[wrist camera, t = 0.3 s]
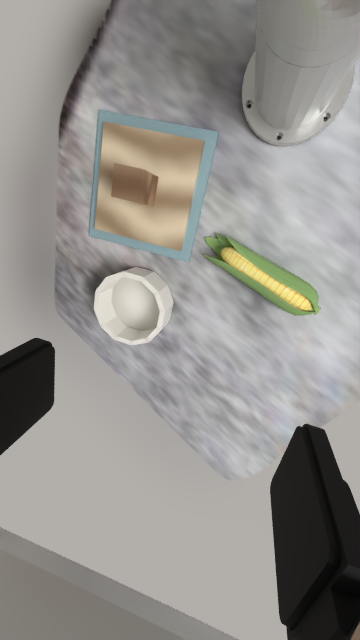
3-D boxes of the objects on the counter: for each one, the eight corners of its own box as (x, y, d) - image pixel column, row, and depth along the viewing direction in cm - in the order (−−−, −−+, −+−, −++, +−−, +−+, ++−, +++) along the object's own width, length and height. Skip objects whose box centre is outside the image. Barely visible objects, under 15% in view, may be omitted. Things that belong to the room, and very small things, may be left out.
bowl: (114, 259, 46) (98, 264, 41) (179, 277, 44) (170, 284, 39) (107, 321, 51) (91, 332, 46) (165, 340, 49) (156, 353, 44)
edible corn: (302, 319, 42) (308, 329, 38) (196, 251, 43) (190, 254, 38) (325, 292, 40) (334, 300, 36) (213, 222, 41) (209, 221, 36)
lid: (107, 123, 39) (79, 103, 33) (205, 142, 37) (195, 125, 30) (97, 228, 45) (72, 229, 38) (181, 250, 42) (169, 255, 36)
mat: (100, 110, 39) (99, 109, 39) (218, 132, 36) (218, 131, 36) (90, 235, 46) (89, 235, 46) (189, 261, 43) (188, 262, 43)
